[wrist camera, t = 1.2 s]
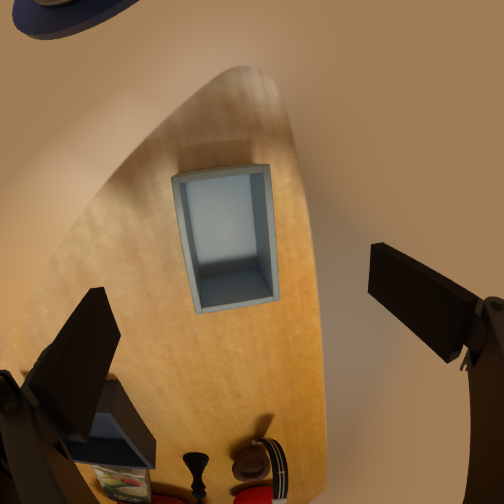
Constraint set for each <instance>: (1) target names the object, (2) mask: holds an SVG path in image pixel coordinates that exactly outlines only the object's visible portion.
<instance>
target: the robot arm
mask: <svg viewBox="0 0 504 504" xmlns="http://www.w3.org/2000/svg"><path fill="white" fill-rule="evenodd" d="M34 1H35V2H36V3H37V4H39V5H40V6H42V7H44V8H59V7H64V6H68V5H71V4H74V3H77V2H79V1H81V0H34ZM368 293H369V294H370V295H371V296H372V297H374V298H375V299H376V300H377V301H378V302H379V303H381V304H382V305H383V306H384V307H385V308H386V309H387V310H389V311H390V312H391V313H392V314H393V315H394V316H395V317H397V318H398V319H399V320H400V321H401V322H402V323H403V324H405V325H406V326H407V327H408V328H409V329H410V330H411V331H412V332H413V333H415V334H416V335H417V336H418V337H419V338H420V339H421V340H422V341H423V342H425V343H426V344H427V345H428V346H429V347H430V348H431V349H432V350H433V351H434V352H435V353H436V354H437V355H438V356H439V357H441V358H442V359H443V360H444V361H445V362H446V363H447V364H448V363H450V362H451V361H453V360H454V359H456V358H458V357H459V355H460V353H461V350H462V348H463V345H465V346H466V347H468V350H467V353H466V355H465V357H464V360H463V362H462V364H461V367H460V371H462V370H463V367H464V365H466V364H467V367H466V370H465V371H468V380H469V392H470V411H471V412H470V416H471V433H470V456H469V467H468V476H467V484H466V490H465V497H464V500H463V503H462V504H504V299H501V298H499V297H487V298H486V299H485V300H482V299H481V298H479V297H478V296H476V295H475V294H473V293H471V292H470V291H468V290H467V289H465V288H463V287H462V286H460V285H458V284H457V283H455V282H453V281H452V280H450V279H448V278H447V277H445V276H443V275H441V274H440V273H438V272H436V271H434V270H433V269H431V268H429V267H427V266H426V265H424V264H422V263H420V262H418V261H416V260H415V259H413V258H411V257H409V256H407V255H406V254H404V253H402V252H400V251H398V250H396V249H394V248H393V247H390V246H389V245H387V244H384V243H383V242H382V243H376V244H371V254H370V272H369V283H368ZM120 337H121V334H120V331H119V329H118V326H117V324H116V321H115V318H114V315H113V313H112V310H111V307H110V304H109V301H108V298H107V295H106V292H105V289H104V287H97V288H90V289H89V291H88V292H87V293H86V295H85V296H84V297H83V299H82V300H81V302H80V303H79V304H78V306H77V307H76V309H75V310H74V311H73V313H72V314H71V316H70V317H69V319H68V320H67V321H66V323H65V324H64V326H63V327H62V329H61V330H60V332H59V333H58V335H57V336H56V338H55V340H54V341H53V343H52V344H50V345H49V346H48V347H47V348H45V349H44V350H43V351H42V353H41V354H40V356H39V358H38V359H37V360H38V361H36V362H35V364H34V366H33V368H32V369H31V371H30V372H29V374H28V376H27V378H26V379H25V381H24V383H23V385H22V386H21V388H20V387H19V386H18V384H17V383H16V381H15V380H14V378H13V377H12V375H11V373H10V372H9V371H7V370H0V504H100V503H99V501H98V500H97V498H96V497H95V495H94V494H93V492H92V491H91V489H90V488H89V486H88V485H87V483H86V481H85V480H84V478H83V477H82V475H81V473H80V472H79V470H78V468H77V466H76V465H75V463H74V461H73V459H72V457H71V455H70V454H69V452H68V450H67V448H66V446H65V444H64V443H63V441H62V440H61V439H60V435H61V432H62V431H63V432H64V434H65V435H66V436H67V437H68V438H69V439H70V440H71V441H77V442H85V443H88V441H89V437H90V433H91V429H92V425H93V421H94V418H95V414H96V410H97V407H98V403H99V400H100V397H101V393H102V390H103V387H104V384H105V380H106V377H107V374H108V371H109V368H110V365H111V362H112V359H113V356H114V354H115V351H116V348H117V345H118V342H119V340H120Z"/></svg>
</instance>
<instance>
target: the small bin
mask: <svg viewBox="0 0 504 504" xmlns="http://www.w3.org/2000/svg"><path fill="white" fill-rule="evenodd" d="M171 182H172V189H173V196H174V202H175V209H176V215H177V221H178V227H179V233H180V239H181V244H182V250H183V255H184V260H185V265H186V270H187V275H188V280H189V285H190V290H191V294H192V299H193V303H194V308H195V312H196V314H202V313H210V312H216V311H223V310H229V309H235V308H241V307H247V306H252V305H258V304H264V303H269V302H273V301H279V300H280V292H279V276H278V261H277V246H276V233H275V219H274V207H273V195H272V183H271V171H270V165H269V164H256V163H250V164H240V165H232V166H223V167H215V168H208V169H201V170H194V171H188V172H181V173H178V174H176V175H174V176H173V177H171Z"/></svg>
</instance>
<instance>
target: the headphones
mask: <svg viewBox="0 0 504 504" xmlns="http://www.w3.org/2000/svg"><path fill="white" fill-rule="evenodd" d="M252 444H253V446H254V444H256V446H257V444H264V445H265V447H266V448H267V450H268V453H269V456H270V460H271V465H272V473H273V498H272V503H270V504H285V503H286V502H287V500H288V498H287V497H286V496H287V491H288V467H287V461H286V457H285V454H284V451H283V449H282V447H281V445H280V444H279V443H278V442H277V441H276V440H274V439H272V438H259V439H253V440H252ZM253 446H252V447H250V448H247V449H246V450H244V451H243V452H242V453H240V454H239V456H238V457H237V458H236V460H235V461H234V463H233V466H232V472H233V475H234V477H235V478H236V479H237V480H239V481H244V482H253V481H258V480H262V479H264V478H265V477H266V476H267V475H268V474H269V472H270V460H269V458H268V456H267V454H266V453H265V451H264V450H263V449H262V448H260V447H256V446H254V447H253ZM242 486H243V485H242ZM241 488H242V487H241ZM240 490H241V489H240ZM239 492H240V491H239Z"/></svg>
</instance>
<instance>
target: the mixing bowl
mask: <svg viewBox="0 0 504 504" xmlns="http://www.w3.org/2000/svg"><path fill="white" fill-rule="evenodd" d="M117 504H129V503H124V502H118V503H117ZM151 504H186V503H184V502H183V501H181V500H179V499H177V498H174V497H170V496H165V495H160V494H151Z"/></svg>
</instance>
